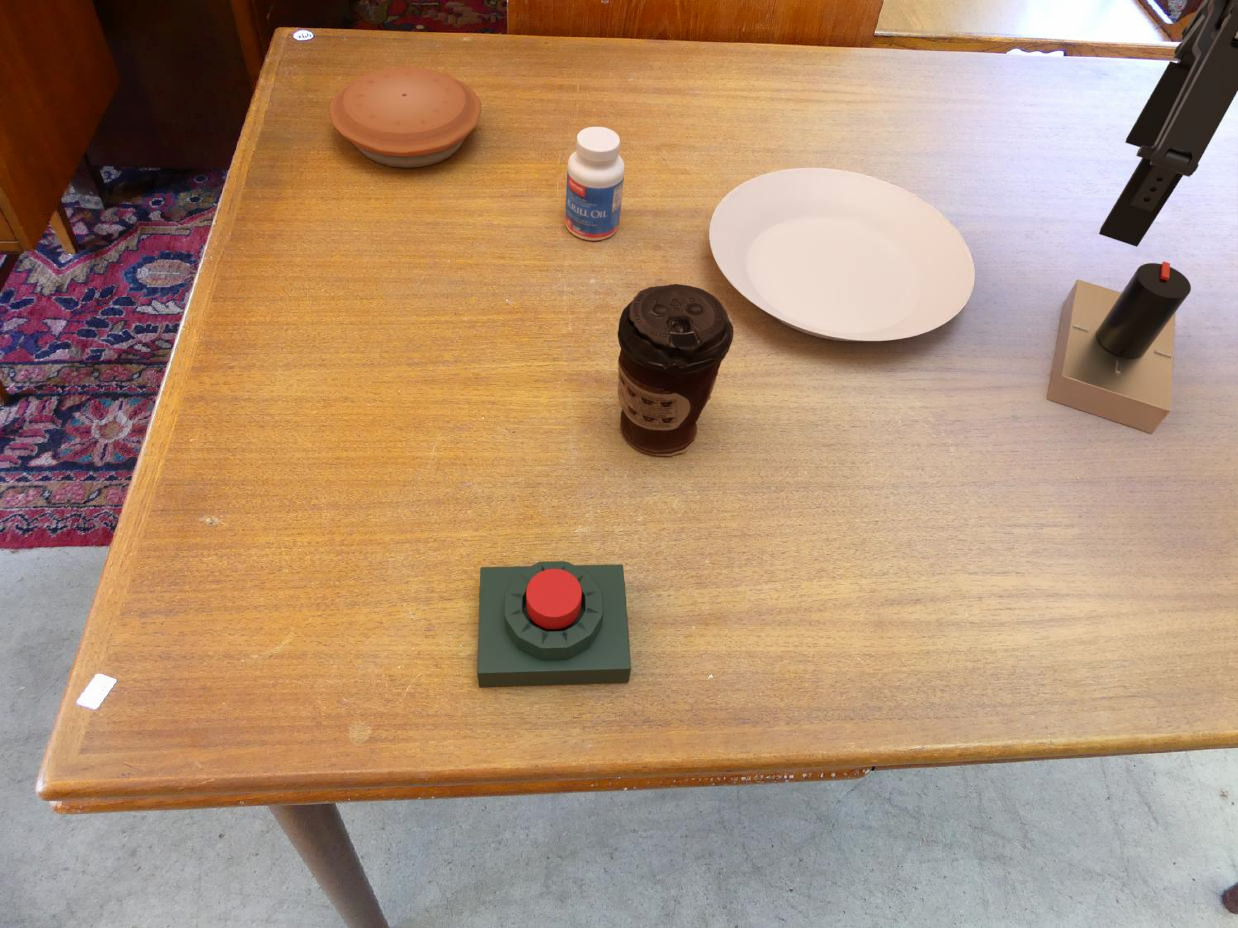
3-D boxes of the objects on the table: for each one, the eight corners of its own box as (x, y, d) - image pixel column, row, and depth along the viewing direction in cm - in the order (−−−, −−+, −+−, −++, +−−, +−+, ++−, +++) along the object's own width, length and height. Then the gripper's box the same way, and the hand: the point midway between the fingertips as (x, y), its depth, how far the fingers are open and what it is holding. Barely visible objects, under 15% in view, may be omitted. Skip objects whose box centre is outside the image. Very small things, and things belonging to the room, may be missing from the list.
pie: (352, 93, 103) (345, 50, 99) (490, 105, 103) (489, 62, 99) (319, 174, 93) (309, 130, 89) (471, 187, 94) (469, 144, 90)
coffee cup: (675, 488, 72) (698, 373, 62) (586, 441, 74) (594, 323, 64) (726, 419, 77) (755, 302, 66) (641, 377, 79) (657, 258, 69)
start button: (579, 581, 62) (580, 567, 61) (582, 629, 60) (583, 616, 58) (526, 582, 62) (526, 568, 60) (526, 630, 59) (526, 617, 58)
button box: (620, 579, 66) (625, 550, 63) (628, 682, 62) (633, 656, 58) (481, 582, 66) (479, 552, 62) (478, 687, 61) (475, 660, 58)
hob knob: (1145, 364, 80) (1192, 301, 74) (1094, 348, 81) (1136, 284, 75) (1148, 333, 82) (1193, 269, 77) (1098, 317, 83) (1140, 254, 78)
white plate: (997, 263, 92) (1011, 234, 89) (898, 412, 78) (912, 384, 76) (778, 168, 99) (785, 139, 97) (654, 289, 86) (658, 259, 83)
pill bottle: (556, 234, 90) (558, 146, 82) (575, 203, 93) (579, 116, 86) (609, 248, 89) (616, 161, 82) (626, 216, 92) (634, 129, 85)
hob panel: (1151, 433, 79) (1171, 409, 77) (1046, 399, 81) (1062, 374, 78) (1158, 332, 87) (1177, 307, 85) (1063, 302, 89) (1078, 277, 86)
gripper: (1262, -196, 61) (1106, 99, 78) (1235, -63, 47) (1051, 263, 63) (1384, -170, 59) (1197, 127, 76) (1395, -23, 45) (1163, 302, 62)
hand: (1131, 189), depth 70 cm, fingers open, 13 cm apart
